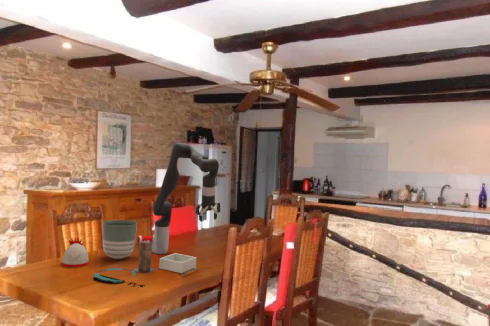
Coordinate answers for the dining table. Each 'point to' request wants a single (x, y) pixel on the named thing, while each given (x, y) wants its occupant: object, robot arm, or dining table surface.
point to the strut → (145, 255)
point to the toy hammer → (144, 239)
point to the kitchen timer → (75, 255)
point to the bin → (178, 263)
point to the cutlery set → (114, 280)
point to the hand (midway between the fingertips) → (207, 220)
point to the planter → (119, 238)
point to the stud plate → (144, 271)
